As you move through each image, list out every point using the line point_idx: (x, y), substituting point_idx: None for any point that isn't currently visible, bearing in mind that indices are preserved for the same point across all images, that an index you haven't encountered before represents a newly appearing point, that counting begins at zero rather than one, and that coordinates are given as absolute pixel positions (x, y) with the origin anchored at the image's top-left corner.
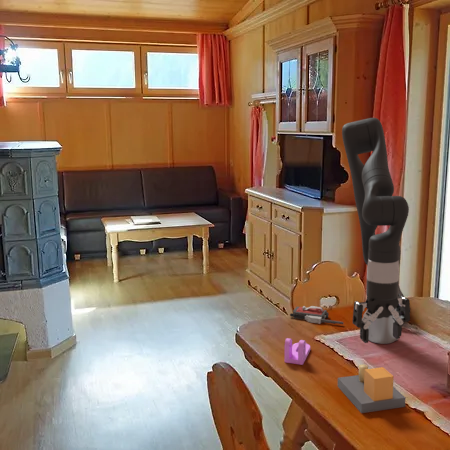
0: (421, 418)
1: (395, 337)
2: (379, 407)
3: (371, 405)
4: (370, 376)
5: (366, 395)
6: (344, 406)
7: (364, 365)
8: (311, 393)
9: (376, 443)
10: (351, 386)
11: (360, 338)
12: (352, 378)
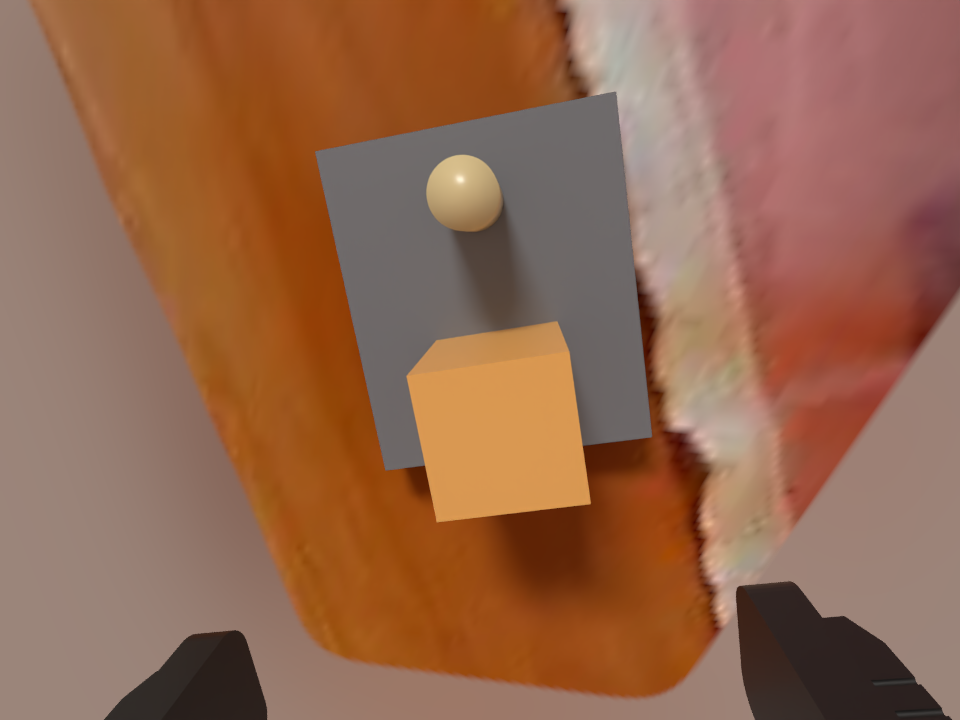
0: (670, 523)
1: (746, 656)
2: None
3: None
4: (427, 462)
5: None
6: (331, 380)
7: (473, 178)
8: (179, 231)
9: (399, 657)
10: (377, 277)
11: (149, 680)
12: (410, 169)
